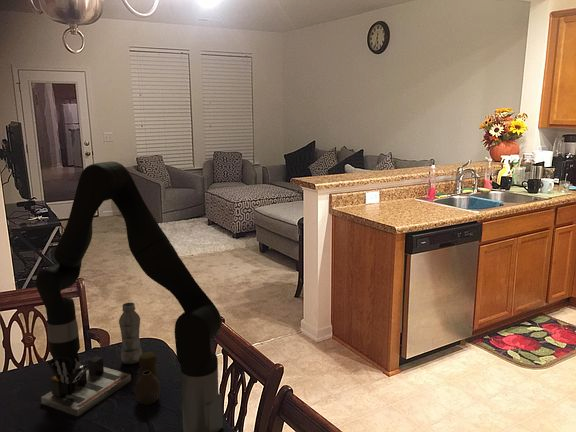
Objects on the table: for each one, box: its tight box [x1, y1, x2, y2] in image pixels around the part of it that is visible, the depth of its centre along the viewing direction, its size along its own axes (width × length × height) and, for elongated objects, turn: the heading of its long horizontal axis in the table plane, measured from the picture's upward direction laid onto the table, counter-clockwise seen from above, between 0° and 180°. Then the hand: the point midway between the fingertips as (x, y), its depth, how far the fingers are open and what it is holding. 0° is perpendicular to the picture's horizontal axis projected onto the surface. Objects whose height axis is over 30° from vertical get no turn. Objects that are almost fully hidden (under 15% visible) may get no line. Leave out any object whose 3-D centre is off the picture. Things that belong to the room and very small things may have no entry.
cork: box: [138, 351, 159, 380], centre depth 141 cm, size 6×6×11 cm
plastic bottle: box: [118, 302, 143, 365], centre depth 155 cm, size 6×7×20 cm
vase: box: [134, 371, 161, 405], centre depth 135 cm, size 7×7×9 cm
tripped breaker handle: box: [49, 375, 65, 397], centre depth 135 cm, size 3×3×5 cm
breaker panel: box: [40, 355, 132, 417], centre depth 140 cm, size 14×20×6 cm
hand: (70, 393), depth 134 cm, fingers closed
